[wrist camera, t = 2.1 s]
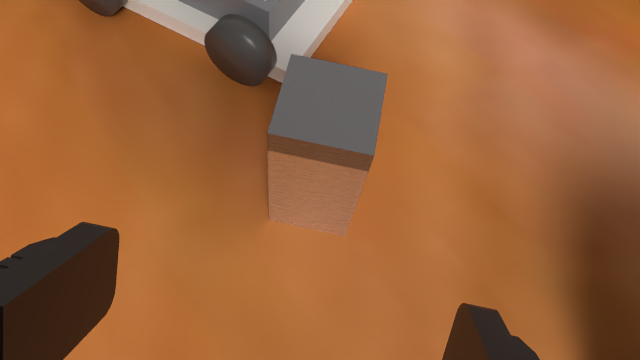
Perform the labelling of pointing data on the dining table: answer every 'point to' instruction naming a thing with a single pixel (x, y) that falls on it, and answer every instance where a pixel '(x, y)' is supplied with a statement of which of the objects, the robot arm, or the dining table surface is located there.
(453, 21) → the dining table surface
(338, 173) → the grey-topped square pillar
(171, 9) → the car chassis
